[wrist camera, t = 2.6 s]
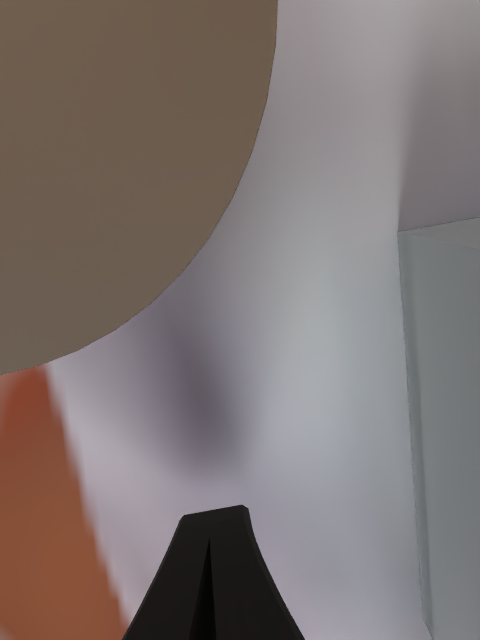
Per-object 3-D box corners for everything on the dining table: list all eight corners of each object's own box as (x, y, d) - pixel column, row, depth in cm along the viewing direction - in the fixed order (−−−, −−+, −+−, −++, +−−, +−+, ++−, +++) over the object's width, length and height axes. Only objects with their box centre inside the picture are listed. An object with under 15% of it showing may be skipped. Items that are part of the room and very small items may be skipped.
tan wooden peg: (244, 225, 9) (322, 318, 2) (73, 256, 9) (-331, 434, 2) (211, 30, 8) (188, -786, 1) (19, 63, 8) (-956, -576, 1)
